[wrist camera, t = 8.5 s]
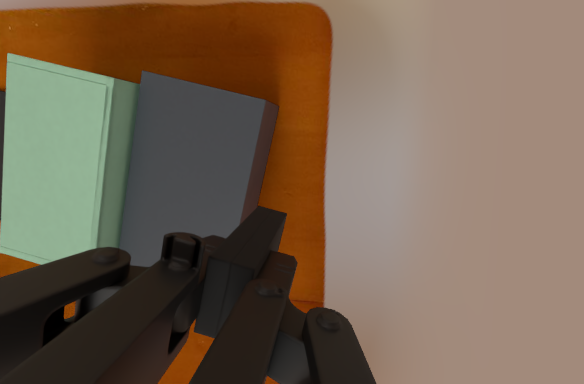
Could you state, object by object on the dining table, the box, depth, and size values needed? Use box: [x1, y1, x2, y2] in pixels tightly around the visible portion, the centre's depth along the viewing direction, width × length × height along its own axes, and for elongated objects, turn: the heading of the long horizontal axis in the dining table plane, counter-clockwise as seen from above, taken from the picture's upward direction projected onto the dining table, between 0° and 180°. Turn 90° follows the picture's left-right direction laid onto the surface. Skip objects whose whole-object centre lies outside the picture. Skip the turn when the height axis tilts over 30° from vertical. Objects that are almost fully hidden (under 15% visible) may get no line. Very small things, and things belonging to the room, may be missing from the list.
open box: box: [0, 53, 140, 265], centre depth 28 cm, size 16×8×8 cm
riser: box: [119, 71, 279, 267], centre depth 29 cm, size 18×10×6 cm, turn 166°
